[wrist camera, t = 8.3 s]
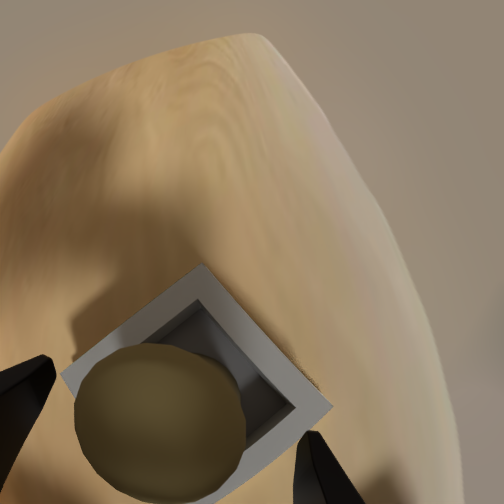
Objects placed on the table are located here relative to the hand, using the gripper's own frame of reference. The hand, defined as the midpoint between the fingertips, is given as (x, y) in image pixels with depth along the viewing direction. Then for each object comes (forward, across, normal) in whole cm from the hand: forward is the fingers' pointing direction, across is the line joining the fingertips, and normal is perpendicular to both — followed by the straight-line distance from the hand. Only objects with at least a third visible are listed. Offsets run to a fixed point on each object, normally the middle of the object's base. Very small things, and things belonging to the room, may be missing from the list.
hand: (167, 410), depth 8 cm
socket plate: (+7, 0, +7) cm, 10 cm away
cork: (+6, 0, +6) cm, 9 cm away
